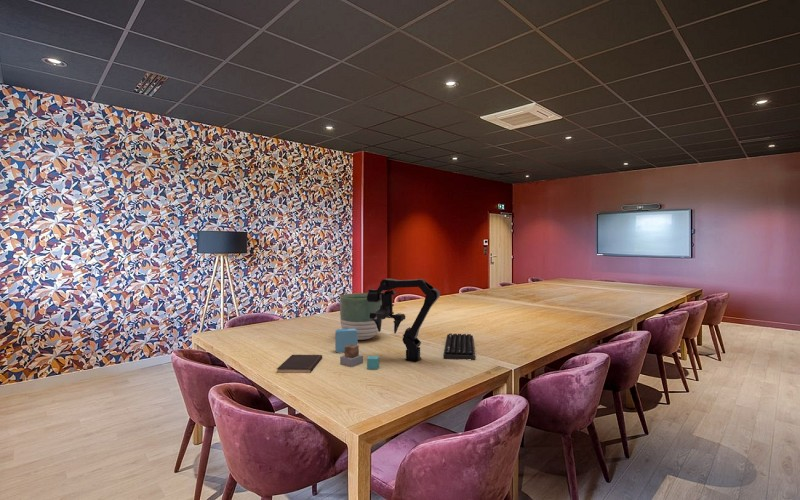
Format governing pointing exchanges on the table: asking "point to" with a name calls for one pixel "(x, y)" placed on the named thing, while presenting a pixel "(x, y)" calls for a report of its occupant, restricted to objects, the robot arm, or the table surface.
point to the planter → (358, 314)
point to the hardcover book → (300, 363)
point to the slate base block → (351, 360)
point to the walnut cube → (351, 351)
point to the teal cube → (373, 362)
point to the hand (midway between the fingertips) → (387, 332)
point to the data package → (345, 339)
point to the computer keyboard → (459, 347)
